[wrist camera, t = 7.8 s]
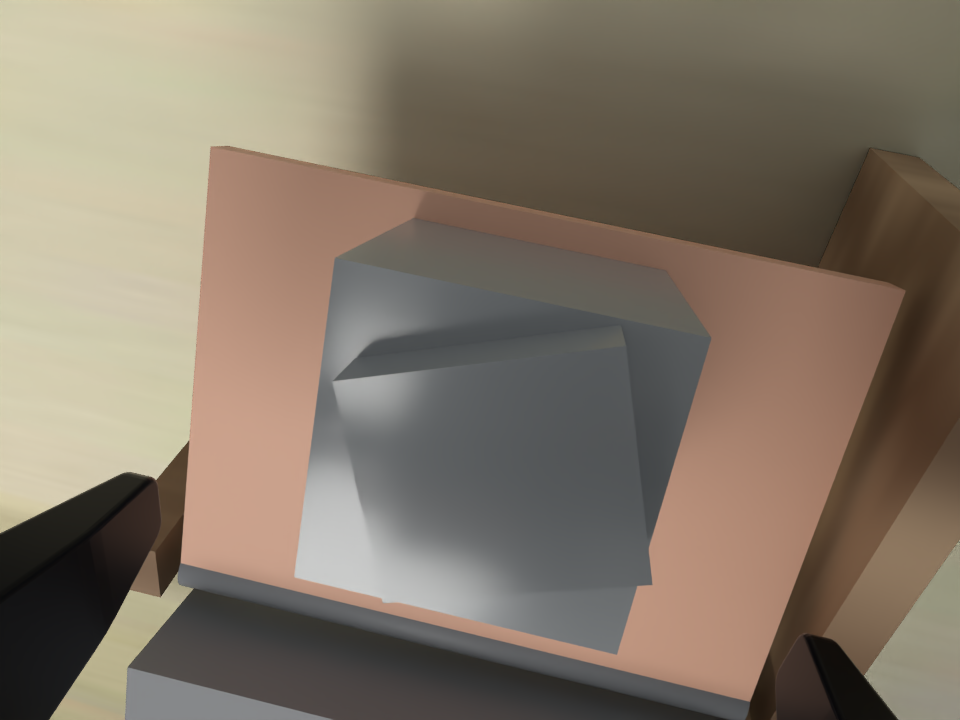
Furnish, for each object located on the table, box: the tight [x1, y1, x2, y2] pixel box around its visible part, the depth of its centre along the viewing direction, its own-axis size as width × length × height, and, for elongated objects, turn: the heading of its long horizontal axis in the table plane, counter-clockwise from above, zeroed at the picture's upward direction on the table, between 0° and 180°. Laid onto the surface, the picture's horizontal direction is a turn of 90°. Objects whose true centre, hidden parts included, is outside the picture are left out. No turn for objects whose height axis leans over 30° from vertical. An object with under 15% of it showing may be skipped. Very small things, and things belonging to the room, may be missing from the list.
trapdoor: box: [125, 146, 906, 720], centre depth 17 cm, size 15×14×5 cm
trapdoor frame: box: [130, 148, 960, 720], centre depth 20 cm, size 18×17×8 cm
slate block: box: [294, 218, 711, 655], centre depth 12 cm, size 5×5×6 cm
